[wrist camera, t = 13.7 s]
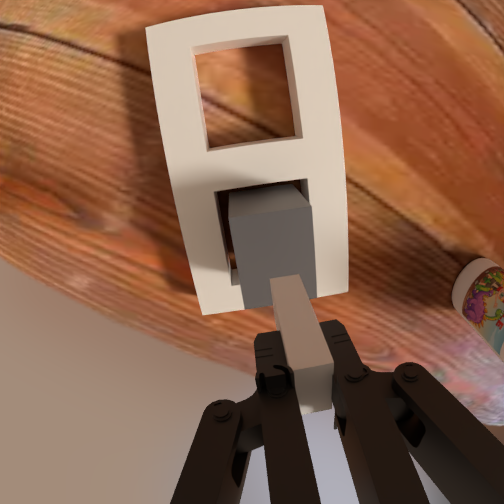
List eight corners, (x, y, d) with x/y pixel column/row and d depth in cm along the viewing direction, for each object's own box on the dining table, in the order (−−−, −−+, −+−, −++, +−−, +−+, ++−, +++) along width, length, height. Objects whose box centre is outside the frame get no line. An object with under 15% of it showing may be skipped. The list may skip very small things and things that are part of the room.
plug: (240, 259, 29) (244, 309, 21) (229, 188, 26) (228, 218, 19) (295, 250, 29) (317, 297, 21) (288, 180, 26) (311, 206, 19)
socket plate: (204, 297, 30) (202, 315, 27) (154, 36, 20) (145, 27, 17) (338, 275, 30) (348, 291, 27) (313, 16, 20) (322, 5, 17)
